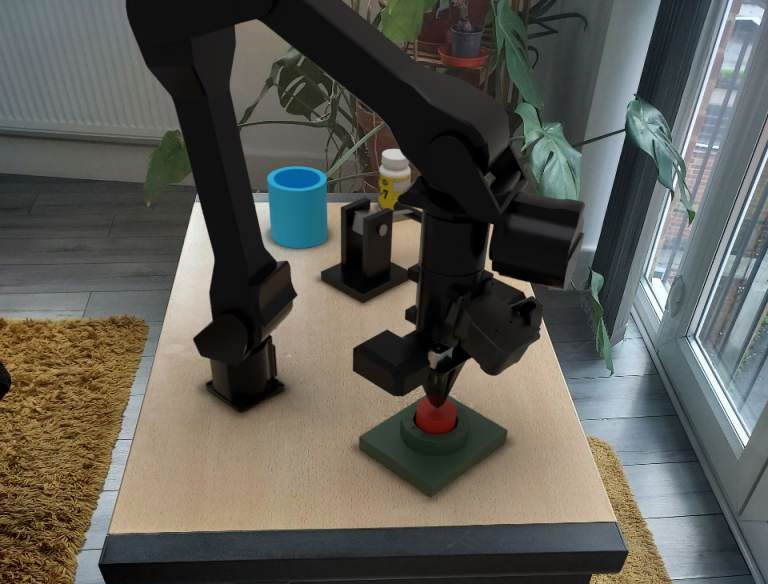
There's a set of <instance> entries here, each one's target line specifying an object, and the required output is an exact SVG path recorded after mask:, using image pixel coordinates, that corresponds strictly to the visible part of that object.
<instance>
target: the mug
mask: <svg viewBox="0 0 768 584" xmlns="http://www.w3.org/2000/svg"><path fill="white" fill-rule="evenodd" d="M327 179H328V177H327V175H326V174H325V172H322V171H321V170H319V169H316V168H313V167H309V166H308V167H307V166H298V165H297V166H296V165H293V166H285V167H281V168H278V169H277V168H276V169H275V170H273V171H271V172H270V173H269V174H268V175H267V180H266V181H267V182H266V183H267V194H268V196H267V197H268V206H269V207H268V211H269V221H270V224H269V225H270V235H271V239H272V240H273V241H274V242H275V243H276V244H277V245H279V246H283V247H284V248H285V247H286V248H292V249H307V248H308V249H309V248H313V247H316V246H320V245H321V244H322V243H324V242H326V240H327V239H328V237H329V236H328V231H329V230H328V189H327V188H328V187H327V186H328V185H327V183H328V182H327Z"/></svg>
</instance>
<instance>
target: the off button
mask: <svg viewBox="0 0 768 584" xmlns="http://www.w3.org/2000/svg"><path fill="white" fill-rule="evenodd" d="M456 413H457V409H456V406H455V405H454V404H453V403H452V402H451V401H450V400H448V399H446V401H445V403H444V405H442V406H441V407H439V408H436V407H434V406H433V405H431V404H430V402H429V400H428V398H426V399H423V400H422V401H420V402H419V404H418V405H417V413H416V424H417V426H418V428H419V429H421V430H422V431H424V432H425V433H430V434H436V435H438V434H444V433H448V432H450V431H451V430H452V429H453V428H454V426H455V421H456Z"/></svg>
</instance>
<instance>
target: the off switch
mask: <svg viewBox="0 0 768 584" xmlns="http://www.w3.org/2000/svg"><path fill="white" fill-rule="evenodd" d="M426 398H427V395H426V394H425V395H422V397H420V398H418V399H417V400H415V401H414V402H412V403H410V404H409V405H407V406H406V407H404V408H403V409H401V410H399V411H398V412H396V413H394V414H393V415H391V416H390V417H388V418H386V419H385V420H383V421H382V422H379V423H378V424H377V425H376V426H374V427H372V428H371V429H369V430H367V431H366V432H364V433H363V434H361V435H359V437H358V449H359V450H360V451H361V452H364V454H366V455H368V456H369V457H370V458H372V459H374V460H375V461H376V462H377V463H379V464H381V465H382V466H384V467H385V468H386V469H388V470H389V471H391V472H393V473H394V474H395V475H397V476H399V477H400V478H401V479H403V480H404V481H406V483H409V484H410V485H412V486H413V487H415V488H416V489H418V490H419V491H420V492H422V493H423V494H425V495H426V496H428V497H430V498H431V497H433V496H435V495H436V494H437V493H438V492H440V491H442V490H443V489H445V487H447V486H448V485H449V484H451V483H452V482H453V481H455V480H456V479H458V478H459V477H461V476H462V475H463V474H465V473H466V472H467V471H469V470H470V469H471V468H473V467H474V466H475V465H477V464H478V463H479V462H481V461H482V460H483V459H485V458H487V456H489V455H490V454H492V453H493V452H495V451H496V450H497V449H498V448H500V447H502V446H503V445H504V444H505V443H506V442H507V436H508V431H509V429H507V428H505V427H503V426H502V425H500V424H498V423H496V422H495V421H493V420H492V419H490V418H488V417H487V416H485V415H483V414H481V413H480V412H478V411H476V410H475V409H473V408H471V407H469V406H468V405H466V404H464V403H463V402H461V401H459V400H457V399H456V398H454V397H452V396H451V395H450V394H449V395H448V397H447V399H448V400H450V401H451V402H452V403H453V404H454V405H455V406H456V409H457V413H456V421H455V426H454V428H453V429H452V430H451V431H450V432H448V433H444V434H438V435H436V434H430V433H425V432H424V431H422V430H421V429H419V428H418V426H417V424H416V413H417V405H418V404H419V402H420V401H422V400H423V399H426Z"/></svg>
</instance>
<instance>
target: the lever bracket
mask: <svg viewBox="0 0 768 584" xmlns="http://www.w3.org/2000/svg"><path fill="white" fill-rule="evenodd" d="M371 201H372V200H371V198H368V197H366V196H365V197H362V198H360V199H359V198H358V199H357V200H354V201H352V202H350V203H348V204H345V205H342V206H340V262H339V263H337V264H335V265H333V266H330V267H328V268H325V269H324V270H322V271H320V280H321V281H323V282H324V283H327V284H329V285H330V286H332V287H333V288H335V289H337V290H339V291H341V292H343V293H345V294H346V295H348V296H350V297H352V298H353V299H356V300H357V301H359V302H361V303H365V302H367V301H369V300H371V299H373V298H375V297H377V296H379V295H381V294H383V293H385V292H387V291H389V290H391V289H393V288H395V287H397V286H399V285H400V284H403V283H404V282H406V281H408V280H409V279H407V275H408V268H405V267H403V266H401V265H399V264H397V263H395V262H393V261H392V243H393V224H394V223H393V210H392V209H390V208H385V209H383V210H381V211H375V212H376V213H374V214H371V215H369V216H367V217H364V218H363V235H361V234H359V233H357V232H355V231H353V230H352V226H353V219H354V212H355V211H360V210H366V209H371V203H372V202H371ZM409 281H410V280H409Z"/></svg>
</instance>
